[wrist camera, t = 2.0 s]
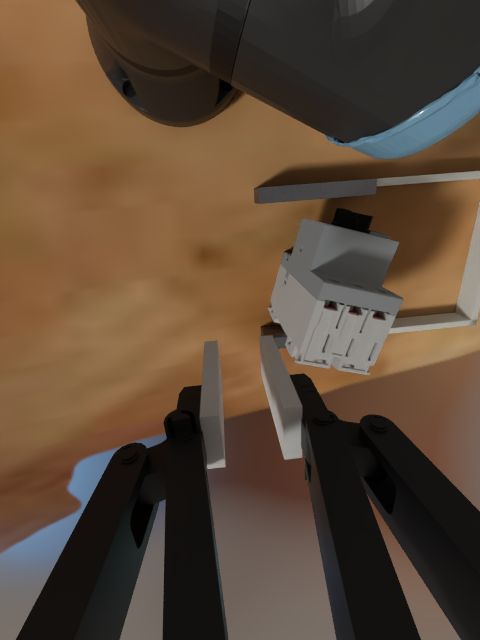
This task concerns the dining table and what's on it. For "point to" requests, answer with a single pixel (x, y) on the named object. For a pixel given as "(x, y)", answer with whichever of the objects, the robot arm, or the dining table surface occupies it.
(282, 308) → the circuit breaker
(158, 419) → the dining table surface
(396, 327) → the parts bay
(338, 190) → the dark gray open bay
